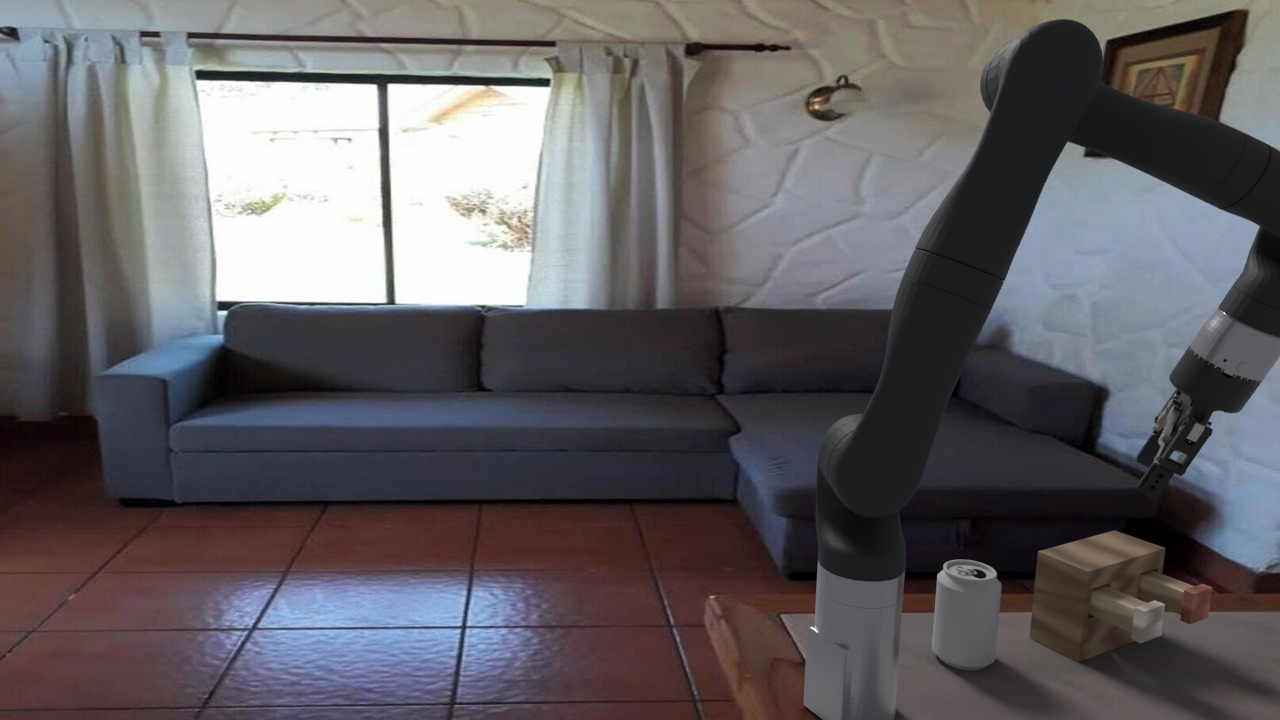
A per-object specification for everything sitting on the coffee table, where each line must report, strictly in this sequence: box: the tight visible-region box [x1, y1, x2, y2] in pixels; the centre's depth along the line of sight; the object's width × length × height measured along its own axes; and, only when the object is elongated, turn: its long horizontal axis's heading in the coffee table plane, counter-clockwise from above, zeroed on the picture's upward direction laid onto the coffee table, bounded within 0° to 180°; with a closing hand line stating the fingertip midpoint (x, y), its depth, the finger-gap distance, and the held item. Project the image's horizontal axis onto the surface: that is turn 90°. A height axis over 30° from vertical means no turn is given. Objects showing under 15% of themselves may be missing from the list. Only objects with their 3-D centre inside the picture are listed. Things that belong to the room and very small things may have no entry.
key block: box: [1029, 530, 1166, 663], centre depth 113 cm, size 16×7×12 cm, turn 119°
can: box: [931, 559, 1002, 671], centre depth 107 cm, size 8×8×12 cm
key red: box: [1137, 570, 1213, 625], centre depth 111 cm, size 4×9×4 cm, turn 29°
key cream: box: [1089, 585, 1166, 644], centre depth 106 cm, size 4×9×4 cm, turn 29°
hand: (1144, 478), depth 100 cm, fingers open, 8 cm apart
